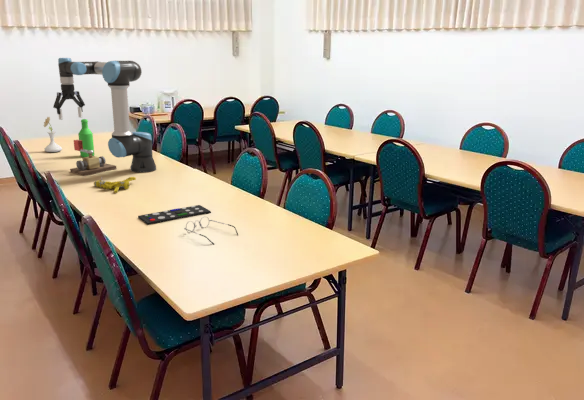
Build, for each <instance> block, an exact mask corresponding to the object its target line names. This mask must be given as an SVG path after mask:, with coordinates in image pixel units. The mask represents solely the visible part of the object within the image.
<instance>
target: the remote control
mask: <svg viewBox="0 0 584 400" xmlns="http://www.w3.org/2000/svg"><path fill="white" fill-rule="evenodd" d="M211 212H212V211H211V210H210V209H208V208H206V207H204V206H203V205H201V204H197V205H191V206H186V207H185V206H184V207H181V208H180V207H178V208H174V209H169V210H168V209H167V210H162V211H157V212H151V213H146V214H141V215H137V216H138V217H137V218H138V219H139V220H140V221H142V222H143V223H145V224H146V225H147V226H150V225H155V224H161V223H165V222H170V221H175V220H180V219H186V218H192V217H196V216H202V215H207V214H211Z"/></svg>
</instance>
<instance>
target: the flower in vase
mask: <svg viewBox="0 0 584 400" xmlns="http://www.w3.org/2000/svg"><path fill="white" fill-rule="evenodd" d="M50 121H51V117H50V116H47V117H46V118H45V121H44V122H43V127H44V128H46V127H47V126H48V125H49V126H48V130H50V131H46V132H47V134H48V135H49V139H50V142H49V143H48V144H47V145H46V146H45V148H44V151H45V152H48V153H57V152H61V151H62V150H63V147H62V146H61V145H59V144H58V143H56V142H55V133H56V131H53V127H52V124H51V123H50Z"/></svg>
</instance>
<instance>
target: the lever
mask: <svg viewBox="0 0 584 400" xmlns="http://www.w3.org/2000/svg"><path fill="white" fill-rule="evenodd" d="M73 147H74V151H76V152H77V151H78V152H80V151H81V152H86V153H87V154H93V150H86V149H83V143H82V140H79V139H73Z"/></svg>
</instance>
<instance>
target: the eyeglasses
mask: <svg viewBox="0 0 584 400" xmlns="http://www.w3.org/2000/svg"><path fill="white" fill-rule="evenodd" d="M203 218H204V216H202V217H201V218H200V220H198V224H199V227H200V228H201V229H203V228H205V227H203V226H202V223H201V221H202V219H203ZM206 218H207V219H208V222H215V223H218V224H223V225H227V226H230V227H232V228H233V229H234V230H235V233H236V235H237V236H239V233H238V230H237V229H236V227H235V226H234V225H232V224H227V223H224V222H220V221H217V220H213V219H209V217H208V216H206ZM190 222H191V220H190V221H188V222H187V223H186V225H185V227H184V228H183V229H184V230H186V232H187V233H190V232H191V233H194V234H196V235H199V236H202V237H204V238H206V239H207V240H208V242H210V243H211V244H212V245H215V243H214V242H213V241H212V240H211V239H209V238H208V237H207V236H206V235H204V234H201V233H197V232H195V229H196V228H197V224H196V222H197V220H195V221H192V224H193V229H192V230H190V229H188V228H187V225H188V224H189V223H190ZM209 225H210V223H208V224H207V226H206V228H207V227H209Z"/></svg>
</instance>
